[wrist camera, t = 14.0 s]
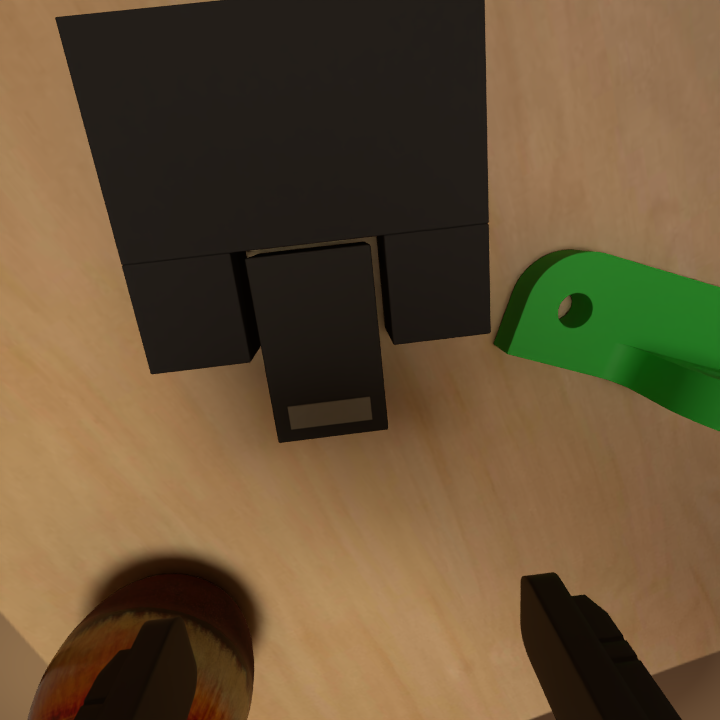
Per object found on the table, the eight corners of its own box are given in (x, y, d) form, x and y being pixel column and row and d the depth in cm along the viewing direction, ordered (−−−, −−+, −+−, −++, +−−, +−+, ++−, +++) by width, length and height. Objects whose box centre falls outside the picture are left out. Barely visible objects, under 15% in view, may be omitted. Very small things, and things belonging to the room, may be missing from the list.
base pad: (458, 15, 20) (484, -28, 16) (469, 318, 24) (491, 333, 20) (102, 53, 19) (54, 16, 16) (176, 353, 23) (150, 374, 20)
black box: (364, 241, 22) (370, 244, 19) (381, 402, 25) (388, 430, 22) (257, 253, 22) (244, 258, 19) (285, 414, 25) (278, 444, 21)
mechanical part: (728, 294, 24) (910, 325, 17) (679, 391, 26) (824, 460, 18) (533, 236, 23) (634, 241, 15) (493, 343, 24) (566, 397, 17)
